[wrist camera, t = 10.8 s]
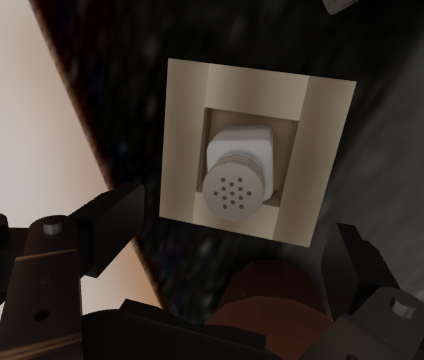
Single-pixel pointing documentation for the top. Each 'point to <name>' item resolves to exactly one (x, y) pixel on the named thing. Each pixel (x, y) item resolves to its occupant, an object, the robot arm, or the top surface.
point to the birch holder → (252, 115)
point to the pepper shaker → (239, 171)
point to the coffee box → (337, 5)
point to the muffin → (274, 306)
